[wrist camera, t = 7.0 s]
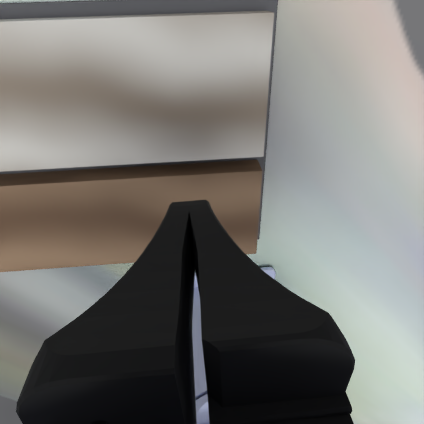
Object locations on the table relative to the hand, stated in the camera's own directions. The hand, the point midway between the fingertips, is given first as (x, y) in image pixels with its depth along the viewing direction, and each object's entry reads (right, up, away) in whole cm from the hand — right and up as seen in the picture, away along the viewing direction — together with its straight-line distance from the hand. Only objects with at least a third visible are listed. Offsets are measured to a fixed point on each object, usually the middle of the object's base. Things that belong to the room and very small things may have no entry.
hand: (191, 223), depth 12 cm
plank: (-8, +7, +5) cm, 11 cm away
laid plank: (-7, 0, +10) cm, 12 cm away
